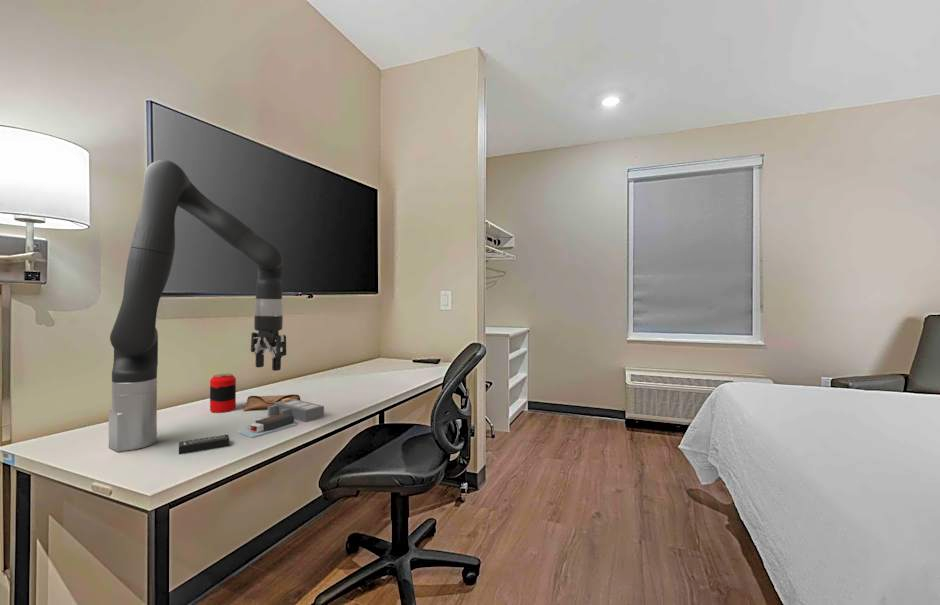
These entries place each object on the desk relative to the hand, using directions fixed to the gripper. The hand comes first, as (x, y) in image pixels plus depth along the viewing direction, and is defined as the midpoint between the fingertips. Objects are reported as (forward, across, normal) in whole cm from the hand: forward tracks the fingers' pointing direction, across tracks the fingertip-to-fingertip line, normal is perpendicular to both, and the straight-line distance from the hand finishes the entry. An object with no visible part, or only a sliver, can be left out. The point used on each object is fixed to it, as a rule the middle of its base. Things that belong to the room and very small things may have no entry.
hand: (267, 368), depth 123 cm
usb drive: (+18, 0, +1) cm, 18 cm away
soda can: (+18, -31, +3) cm, 36 cm away
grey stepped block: (+18, -5, +13) cm, 23 cm away
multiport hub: (+19, +1, -18) cm, 26 cm away
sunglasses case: (+19, -21, +15) cm, 32 cm away
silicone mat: (+18, 0, 0) cm, 18 cm away
